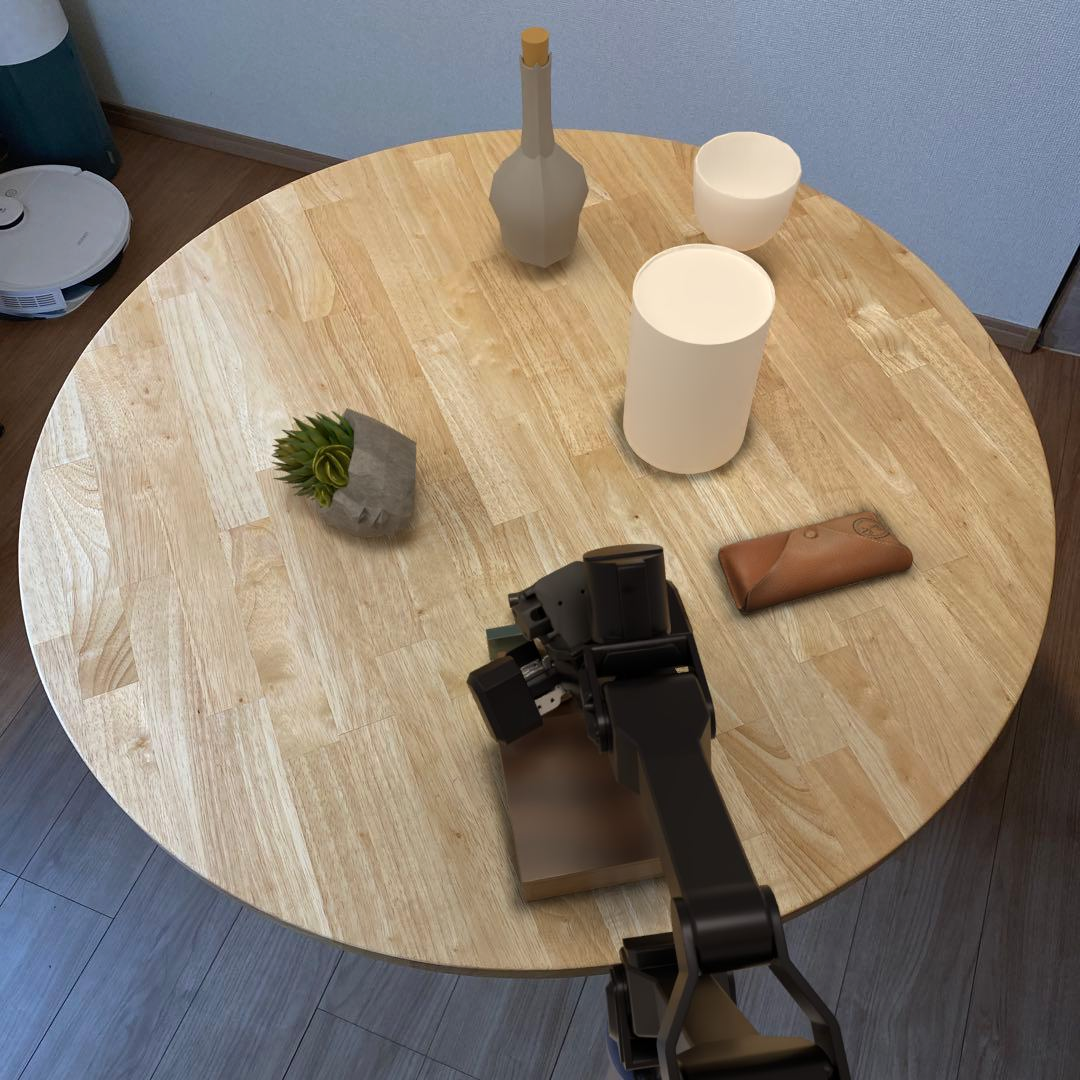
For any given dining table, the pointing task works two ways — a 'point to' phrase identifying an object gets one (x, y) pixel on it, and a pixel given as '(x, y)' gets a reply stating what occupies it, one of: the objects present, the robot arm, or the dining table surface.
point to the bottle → (538, 171)
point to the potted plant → (352, 472)
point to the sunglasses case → (810, 561)
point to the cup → (744, 188)
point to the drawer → (511, 638)
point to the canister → (694, 355)
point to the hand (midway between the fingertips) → (547, 637)
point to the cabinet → (572, 814)
